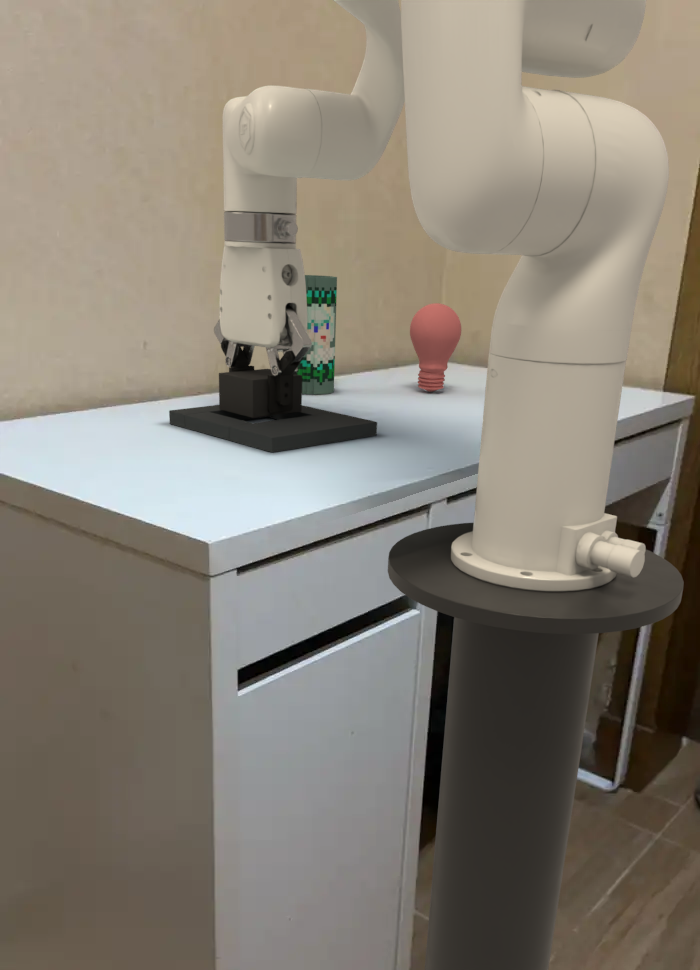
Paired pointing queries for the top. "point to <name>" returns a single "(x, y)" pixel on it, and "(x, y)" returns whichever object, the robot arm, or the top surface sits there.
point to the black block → (252, 393)
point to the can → (320, 335)
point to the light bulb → (434, 342)
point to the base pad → (275, 427)
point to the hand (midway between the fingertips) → (260, 405)
